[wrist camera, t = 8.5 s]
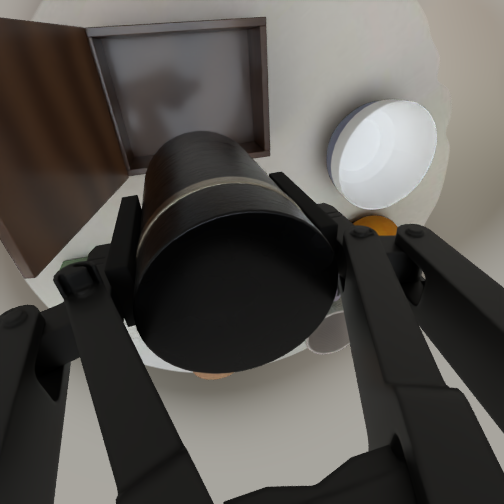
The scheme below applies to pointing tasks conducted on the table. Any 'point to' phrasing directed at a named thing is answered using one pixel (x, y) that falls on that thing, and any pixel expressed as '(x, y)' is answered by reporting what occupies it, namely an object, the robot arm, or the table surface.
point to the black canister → (225, 260)
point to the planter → (330, 332)
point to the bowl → (381, 152)
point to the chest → (183, 83)
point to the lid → (51, 141)
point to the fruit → (378, 225)
